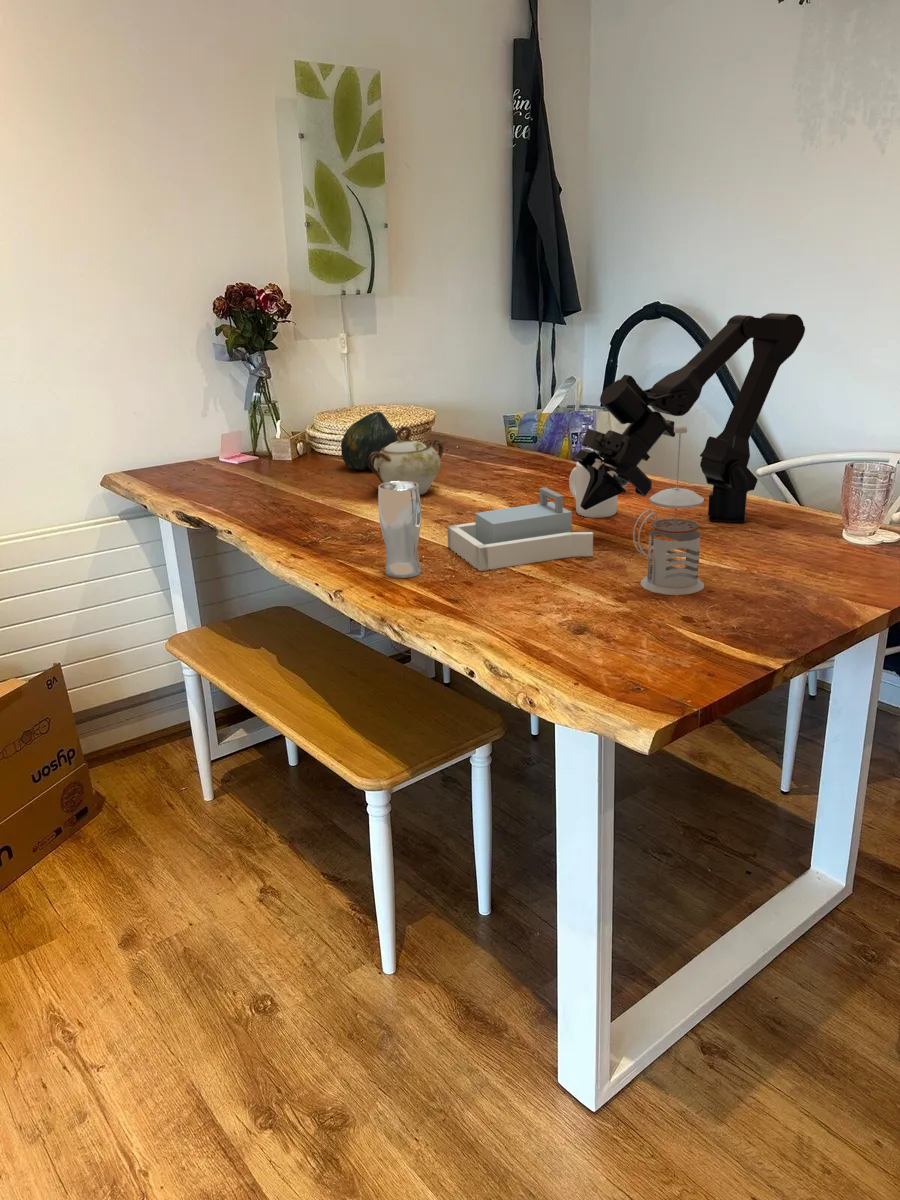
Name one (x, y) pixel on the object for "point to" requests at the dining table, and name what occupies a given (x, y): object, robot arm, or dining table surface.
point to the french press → (673, 542)
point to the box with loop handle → (524, 520)
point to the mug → (578, 489)
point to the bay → (516, 548)
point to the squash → (366, 440)
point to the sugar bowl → (407, 461)
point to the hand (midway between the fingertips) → (582, 508)
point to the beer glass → (400, 527)
